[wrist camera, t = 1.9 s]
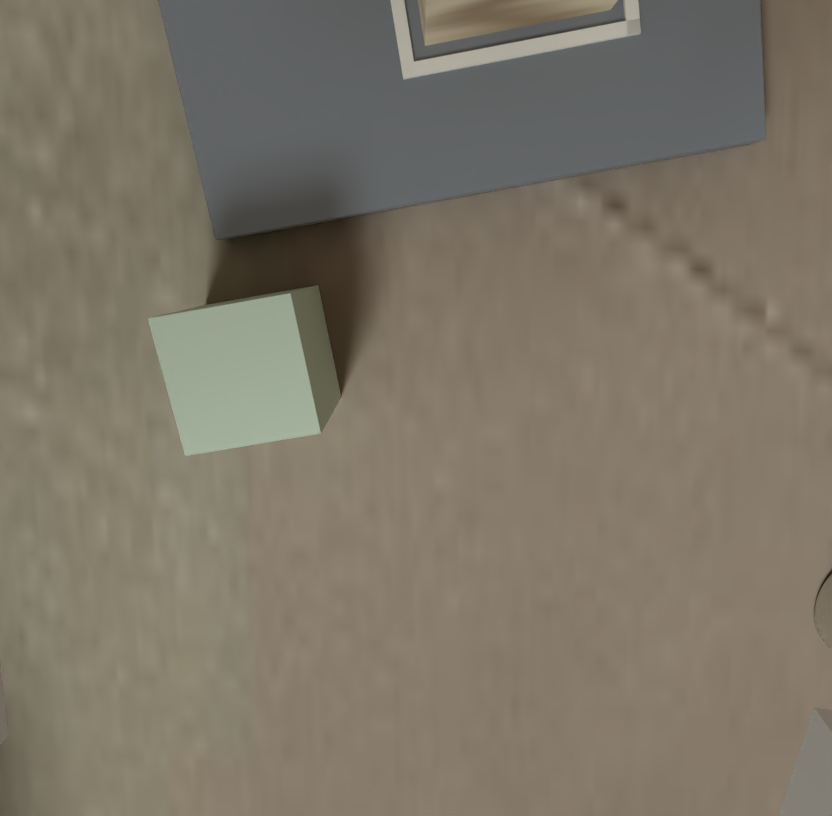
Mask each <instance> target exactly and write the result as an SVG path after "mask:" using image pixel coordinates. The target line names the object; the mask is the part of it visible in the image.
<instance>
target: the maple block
mask: <svg viewBox="0 0 832 816" xmlns="http://www.w3.org/2000/svg"><path fill="white" fill-rule="evenodd" d="M617 1H618V0H418V6H419V12H420V18H421V25H422V31H423V38H424V44H425V46H428V45H433V44H438V43H443V42H448V41H453V40H459V39H464V38H469V37H474V36H479V35H484V34H489V33H495V32H500V31H505V30H510V29H515V28H520V27H526V26H531V25H536V24H541V23H546V22H551V21H557V20H562V19H567V18H572V17H577V16H582V15H587V14H593V13H598V12H603V11H608V10H611V9H612V7H613V6H614V5H615V3H616V2H617Z"/></svg>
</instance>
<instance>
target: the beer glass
mask: <svg viewBox="0 0 832 816" xmlns="http://www.w3.org/2000/svg"><path fill="white" fill-rule="evenodd" d="M815 623H816V627H817V630H818V632H819V634H820V636H821V638H822V639H823V641H824V642H825V644H826V645H827V646H828V647H829V648H830V649H831V650H832V574H831V575H830V576H829V577H828V578H827V580H826V581H825V582H824V584H823V586H822V587H821V589H820V592H819V594H818V597H817V600H816V604H815Z"/></svg>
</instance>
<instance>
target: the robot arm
mask: <svg viewBox="0 0 832 816" xmlns="http://www.w3.org/2000/svg"><path fill="white" fill-rule="evenodd" d="M7 737H8V731H7V721H6V712H5V702H4V693H3V683H2V674H1V664H0V745H1V744H2V742H3V741H4V740H5V739H6V738H7ZM779 816H832V710H828V709H820V708H814V709H813V712H812V715H811V718H810V721H809V724H808V727H807V730H806V733H805V737H804V740H803V743H802V746H801V749H800V752H799V755H798V758H797V761H796V764H795V767H794V770H793V773H792V776H791V779H790V782H789V785H788V788H787V791H786V794H785V797H784V800H783V803H782V807H781V810H780V813H779Z"/></svg>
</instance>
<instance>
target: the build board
mask: <svg viewBox="0 0 832 816" xmlns="http://www.w3.org/2000/svg"><path fill="white" fill-rule="evenodd" d="M158 1H159V5H160V9H161V13H162V17H163V21H164V26H165V30H166V34H167V38H168V42H169V46H170V51H171V55H172V59H173V63H174V67H175V71H176V76H177V80H178V84H179V88H180V92H181V97H182V101H183V105H184V109H185V113H186V117H187V122H188V126H189V130H190V134H191V138H192V142H193V147H194V151H195V155H196V159H197V163H198V167H199V172H200V176H201V180H202V184H203V188H204V192H205V197H206V201H207V205H208V209H209V213H210V217H211V222H212V226H213V230H214V234H215V238H216V239H217V240H228V239H233V238H239V237H244V236H250V235H255V234H261V233H266V232H272V231H277V230H283V229H288V228H294V227H299V226H305V225H310V224H316V223H321V222H327V221H332V220H338V219H343V218H349V217H354V216H359V215H365V214H370V213H376V212H381V211H387V210H392V209H398V208H403V207H409V206H414V205H420V204H425V203H431V202H436V201H442V200H447V199H453V198H458V197H464V196H469V195H475V194H480V193H486V192H491V191H497V190H502V189H508V188H513V187H519V186H524V185H529V184H535V183H540V182H546V181H551V180H557V179H562V178H568V177H573V176H579V175H584V174H590V173H595V172H601V171H606V170H612V169H617V168H623V167H628V166H634V165H639V164H645V163H650V162H656V161H661V160H667V159H672V158H678V157H683V156H689V155H694V154H699V153H705V152H710V151H716V150H721V149H727V148H732V147H738V146H743V145H749V144H752V143H755V142H758V141H761V140H764V139H766V126H765V102H764V77H763V52H762V28H761V3H760V0H618V1H617V2H616V3H615V5H614V6H613V7H612V9H611V10H608V11H603V12H598V13H593V14H587V15H582V16H577V17H572V18H567V19H562V20H557V21H551V22H546V23H541V24H536V25H531V26H526V27H520V28H515V29H510V30H505V31H500V32H495V33H489V34H484V35H479V36H474V37H469V38H464V39H459V40H453V41H448V42H443V43H438V44H433V45H428V46H425V44H424V38H423V31H422V25H421V18H420V12H419V6H418V0H158Z"/></svg>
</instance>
